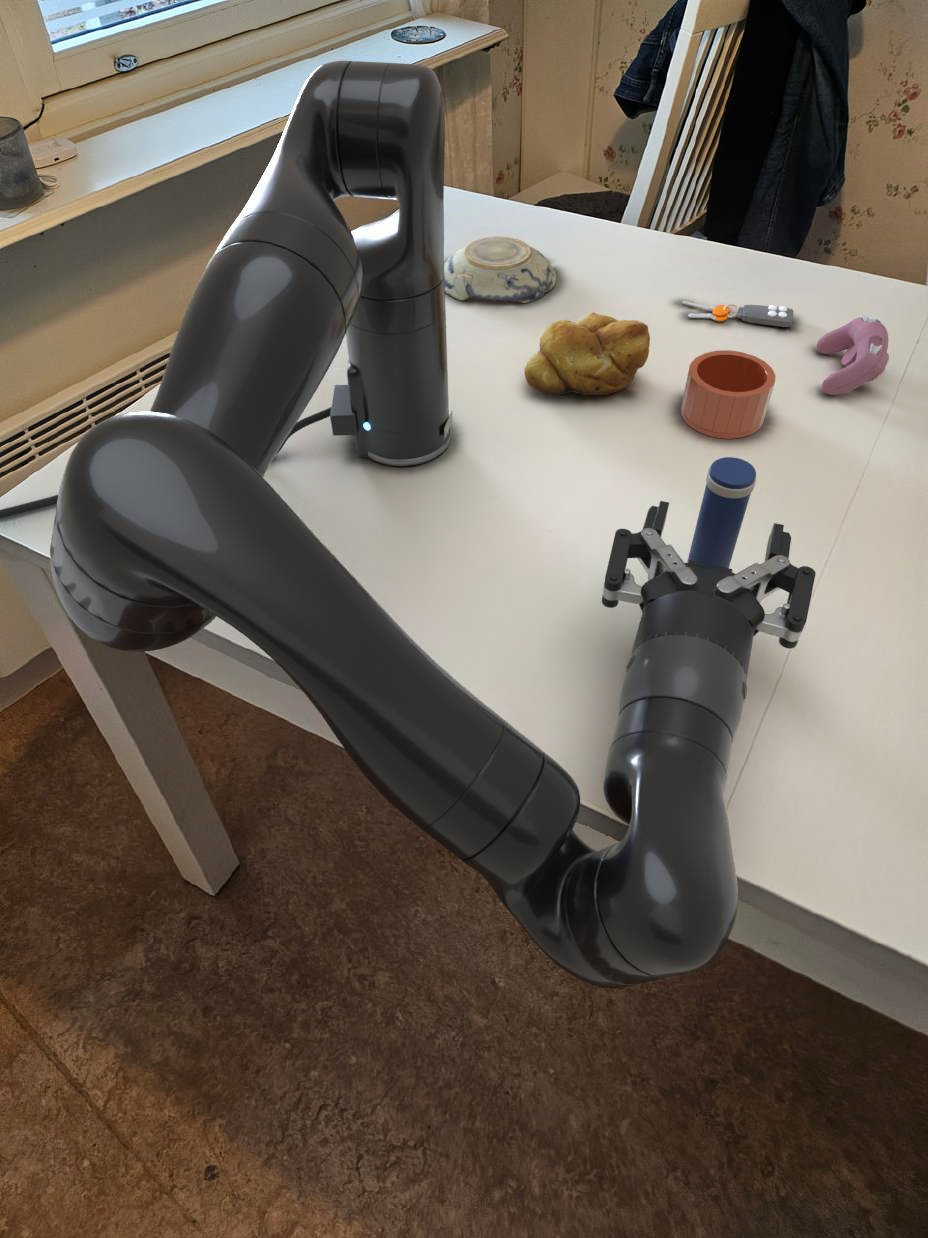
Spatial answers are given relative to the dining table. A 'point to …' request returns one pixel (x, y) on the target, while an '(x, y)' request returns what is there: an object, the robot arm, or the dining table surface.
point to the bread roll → (588, 356)
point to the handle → (722, 511)
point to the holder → (727, 394)
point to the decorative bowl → (498, 271)
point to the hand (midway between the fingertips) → (719, 520)
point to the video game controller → (855, 354)
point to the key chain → (748, 314)
